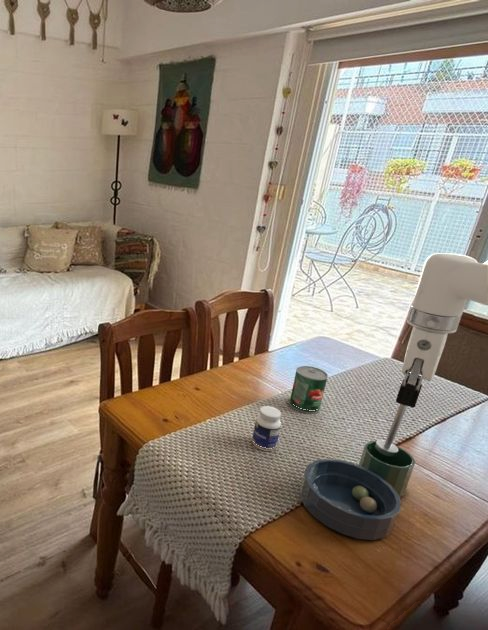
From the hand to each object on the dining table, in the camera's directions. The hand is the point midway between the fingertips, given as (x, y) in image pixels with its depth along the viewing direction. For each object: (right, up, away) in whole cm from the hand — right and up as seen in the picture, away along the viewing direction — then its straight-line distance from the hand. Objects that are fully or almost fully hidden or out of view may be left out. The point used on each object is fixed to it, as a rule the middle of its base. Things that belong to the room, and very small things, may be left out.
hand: (406, 401), depth 90 cm
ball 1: (-8, -20, +2) cm, 21 cm away
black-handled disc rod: (-1, -12, +5) cm, 13 cm away
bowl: (-12, -22, +1) cm, 26 cm away
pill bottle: (-20, -15, +20) cm, 32 cm away
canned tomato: (-1, -9, +37) cm, 38 cm away
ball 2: (-9, -21, -1) cm, 23 cm away
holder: (0, -20, +8) cm, 21 cm away
